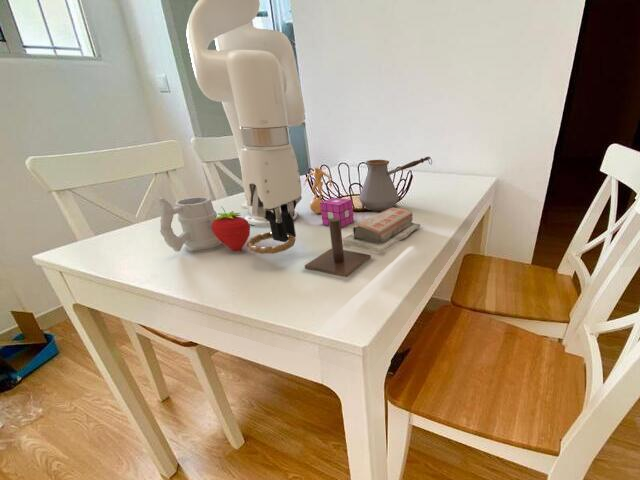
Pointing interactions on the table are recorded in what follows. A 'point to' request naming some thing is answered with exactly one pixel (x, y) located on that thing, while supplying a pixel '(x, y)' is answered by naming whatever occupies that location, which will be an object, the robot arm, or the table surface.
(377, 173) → the coffee pot
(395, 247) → the table surface
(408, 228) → the packaged product
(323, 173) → the figurine
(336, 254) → the brown peg stand
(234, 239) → the strawberry
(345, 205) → the puzzle toy
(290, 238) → the ring
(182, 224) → the mug
